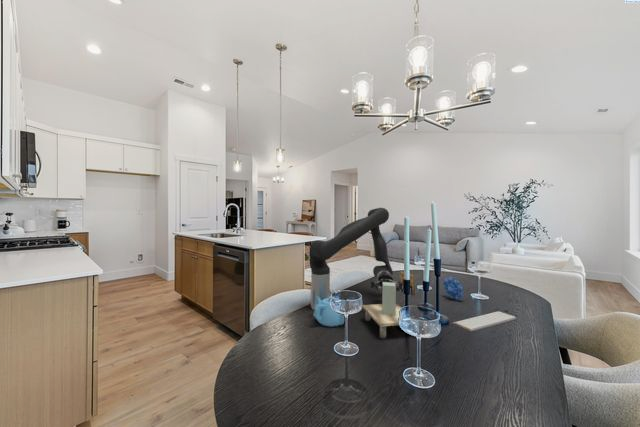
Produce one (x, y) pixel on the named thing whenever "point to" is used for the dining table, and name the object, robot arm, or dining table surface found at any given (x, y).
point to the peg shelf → (381, 317)
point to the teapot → (327, 313)
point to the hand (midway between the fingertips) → (387, 288)
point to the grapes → (453, 288)
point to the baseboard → (485, 320)
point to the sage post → (389, 298)
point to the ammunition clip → (410, 282)
